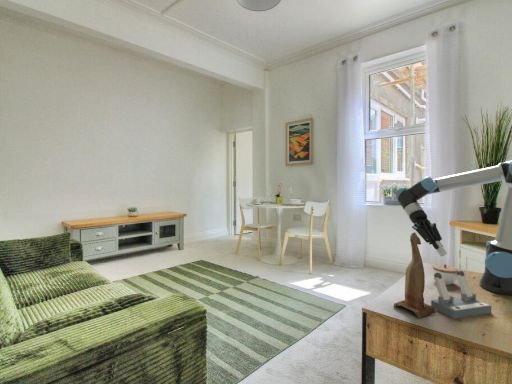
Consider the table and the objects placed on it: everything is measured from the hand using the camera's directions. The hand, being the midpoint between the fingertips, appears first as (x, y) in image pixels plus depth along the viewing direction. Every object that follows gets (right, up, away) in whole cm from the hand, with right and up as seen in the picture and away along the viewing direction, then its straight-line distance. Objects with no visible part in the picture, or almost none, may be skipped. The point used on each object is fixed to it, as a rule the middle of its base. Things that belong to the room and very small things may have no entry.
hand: (443, 254), depth 126 cm
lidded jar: (+11, -18, +16) cm, 27 cm away
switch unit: (-2, -20, -13) cm, 24 cm away
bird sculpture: (-22, -20, -14) cm, 32 cm away
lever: (-9, -15, -14) cm, 22 cm away
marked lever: (+3, -15, -11) cm, 19 cm away
